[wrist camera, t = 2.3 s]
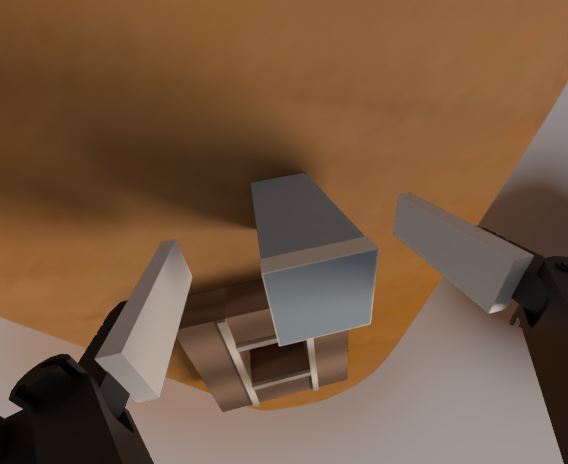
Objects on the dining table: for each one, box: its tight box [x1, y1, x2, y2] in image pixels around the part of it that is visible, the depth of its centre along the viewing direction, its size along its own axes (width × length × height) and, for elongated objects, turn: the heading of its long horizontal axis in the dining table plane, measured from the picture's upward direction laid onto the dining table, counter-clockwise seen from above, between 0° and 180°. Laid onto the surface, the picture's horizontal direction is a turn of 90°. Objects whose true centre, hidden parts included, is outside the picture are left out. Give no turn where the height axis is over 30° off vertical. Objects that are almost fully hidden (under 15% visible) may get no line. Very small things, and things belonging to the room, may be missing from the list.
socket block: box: [176, 279, 348, 412], centre depth 22 cm, size 14×14×4 cm
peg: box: [251, 173, 379, 347], centre depth 13 cm, size 4×4×10 cm
